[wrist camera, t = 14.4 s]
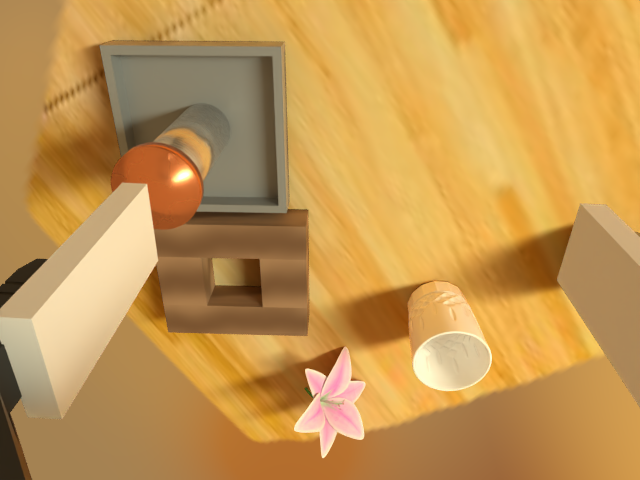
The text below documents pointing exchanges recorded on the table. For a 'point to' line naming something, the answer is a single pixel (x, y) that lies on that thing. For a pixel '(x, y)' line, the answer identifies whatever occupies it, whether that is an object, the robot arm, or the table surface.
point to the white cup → (446, 338)
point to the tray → (215, 89)
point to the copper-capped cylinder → (176, 164)
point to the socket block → (236, 301)
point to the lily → (333, 404)
